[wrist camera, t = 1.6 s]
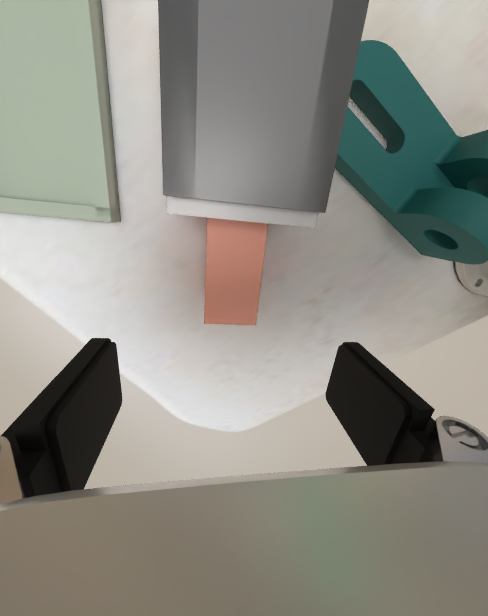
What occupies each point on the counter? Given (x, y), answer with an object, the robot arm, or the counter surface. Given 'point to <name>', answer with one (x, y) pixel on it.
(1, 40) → the tray
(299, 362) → the counter surface
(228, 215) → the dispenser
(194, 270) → the counter surface
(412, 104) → the bracket
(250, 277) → the terracotta pink bar
